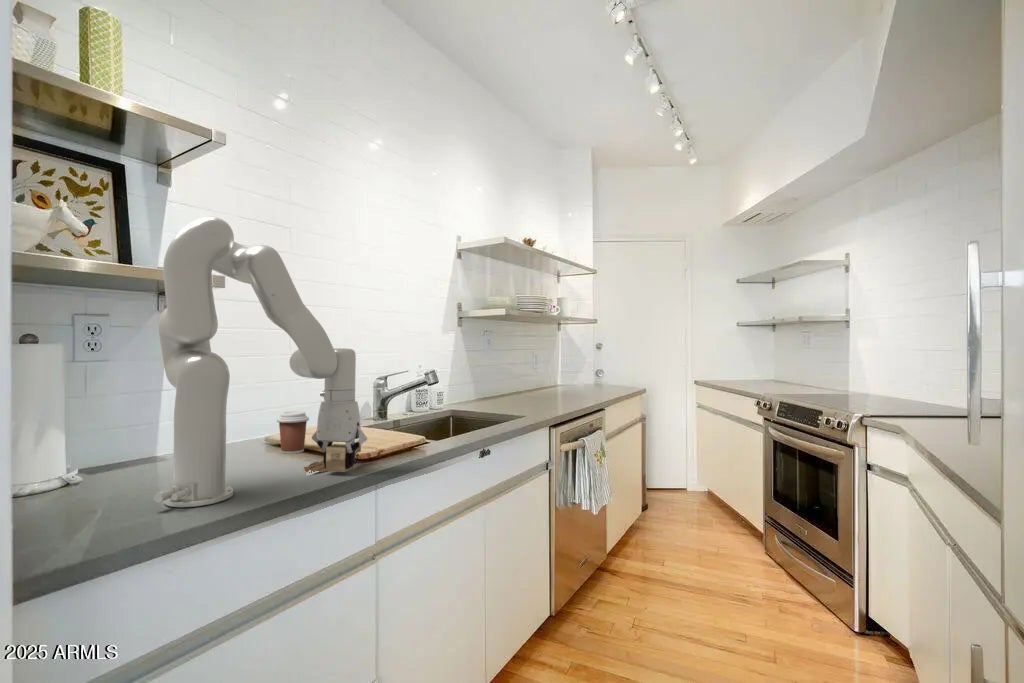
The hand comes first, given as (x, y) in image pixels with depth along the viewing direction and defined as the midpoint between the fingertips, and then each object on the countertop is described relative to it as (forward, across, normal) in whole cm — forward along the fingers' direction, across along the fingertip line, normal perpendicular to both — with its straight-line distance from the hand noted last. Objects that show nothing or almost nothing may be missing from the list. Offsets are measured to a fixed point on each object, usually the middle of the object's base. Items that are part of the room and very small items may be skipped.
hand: (339, 466), depth 130 cm
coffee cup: (+2, -27, +22) cm, 35 cm away
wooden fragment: (+3, -7, +9) cm, 12 cm away
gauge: (+1, 0, +4) cm, 4 cm away
